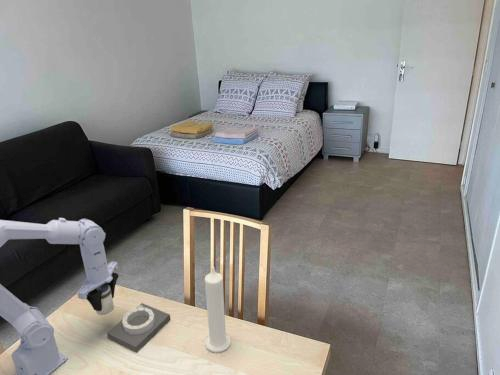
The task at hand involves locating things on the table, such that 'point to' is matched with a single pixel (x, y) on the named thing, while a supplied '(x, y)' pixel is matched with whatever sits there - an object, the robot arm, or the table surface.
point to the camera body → (138, 327)
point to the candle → (216, 313)
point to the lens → (105, 299)
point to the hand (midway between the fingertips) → (104, 303)
